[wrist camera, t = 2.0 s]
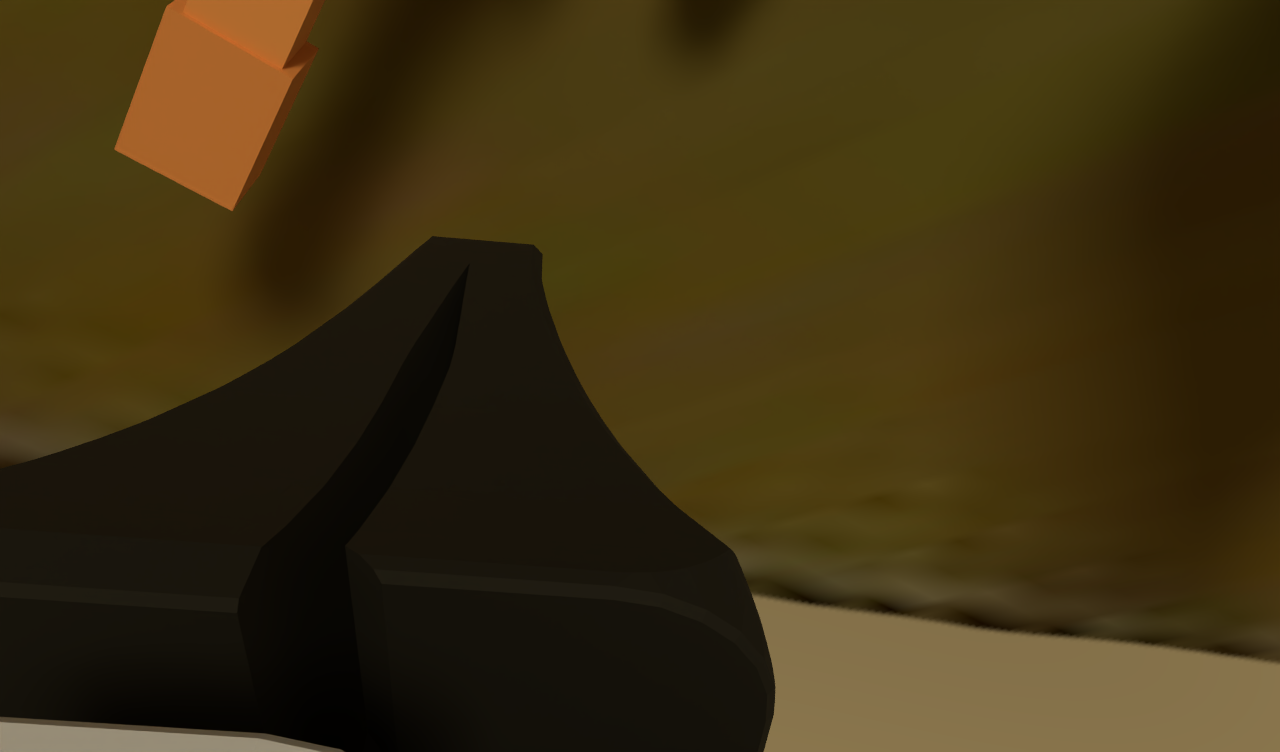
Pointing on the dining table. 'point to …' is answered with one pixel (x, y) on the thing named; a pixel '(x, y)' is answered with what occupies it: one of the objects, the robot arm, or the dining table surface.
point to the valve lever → (219, 91)
